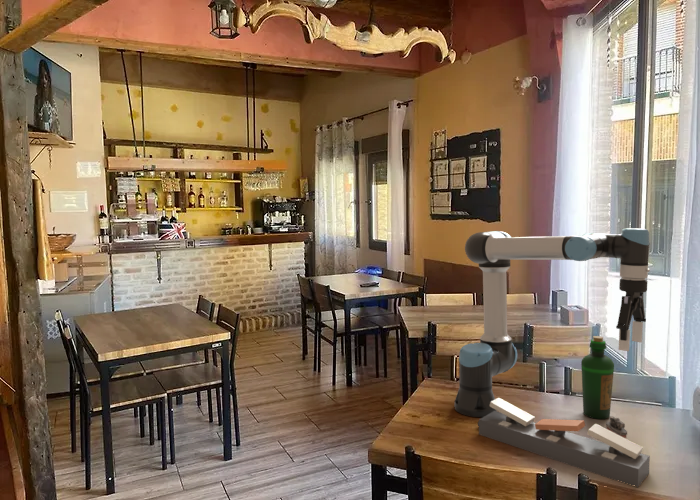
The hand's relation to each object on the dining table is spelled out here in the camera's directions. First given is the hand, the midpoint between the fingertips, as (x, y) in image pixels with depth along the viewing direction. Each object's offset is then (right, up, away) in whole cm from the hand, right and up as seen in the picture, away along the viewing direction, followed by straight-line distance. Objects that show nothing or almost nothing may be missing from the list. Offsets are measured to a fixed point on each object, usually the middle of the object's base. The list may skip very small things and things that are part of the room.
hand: (630, 345), depth 161 cm
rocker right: (-13, -24, -16) cm, 32 cm away
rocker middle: (-24, -23, -5) cm, 34 cm away
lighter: (-8, -31, -6) cm, 32 cm away
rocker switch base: (-26, -31, -5) cm, 41 cm away
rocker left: (-35, -22, +6) cm, 42 cm away
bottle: (-1, -29, +21) cm, 36 cm away
